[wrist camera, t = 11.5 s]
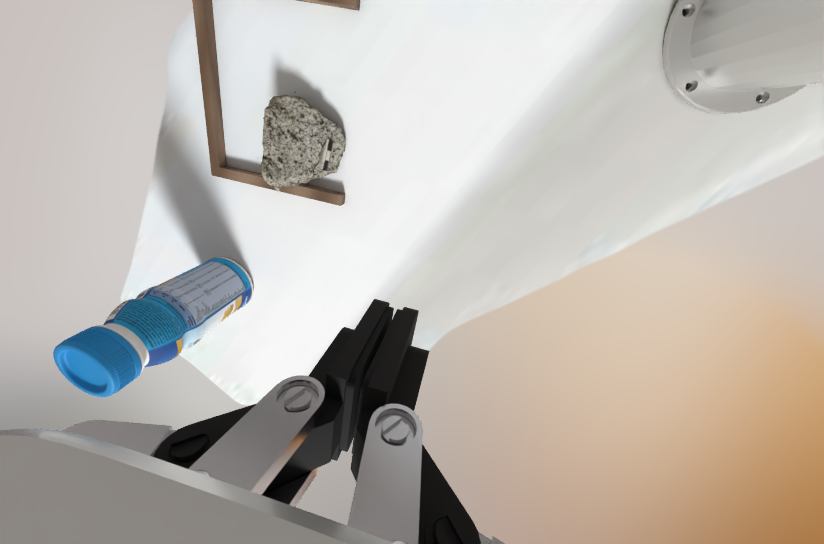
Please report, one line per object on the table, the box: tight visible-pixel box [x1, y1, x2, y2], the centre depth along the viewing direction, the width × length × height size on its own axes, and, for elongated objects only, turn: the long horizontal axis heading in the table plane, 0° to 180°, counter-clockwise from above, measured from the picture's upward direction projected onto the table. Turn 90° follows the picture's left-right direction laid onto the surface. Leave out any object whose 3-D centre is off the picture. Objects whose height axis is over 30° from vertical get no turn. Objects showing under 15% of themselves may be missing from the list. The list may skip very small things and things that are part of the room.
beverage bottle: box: [54, 257, 253, 397], centre depth 39 cm, size 8×8×20 cm
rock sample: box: [256, 92, 345, 191], centre depth 35 cm, size 10×8×9 cm
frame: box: [192, 0, 360, 206], centre depth 35 cm, size 17×20×1 cm
